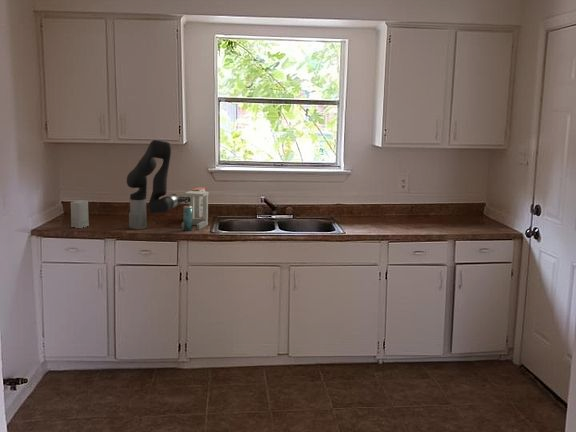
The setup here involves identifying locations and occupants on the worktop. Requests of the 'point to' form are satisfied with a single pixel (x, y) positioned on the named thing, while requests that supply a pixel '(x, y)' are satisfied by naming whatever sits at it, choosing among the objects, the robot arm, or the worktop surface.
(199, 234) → the worktop surface
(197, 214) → the cracker box
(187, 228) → the canister
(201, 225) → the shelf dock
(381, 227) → the worktop surface
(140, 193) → the robot arm
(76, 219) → the skincare box
